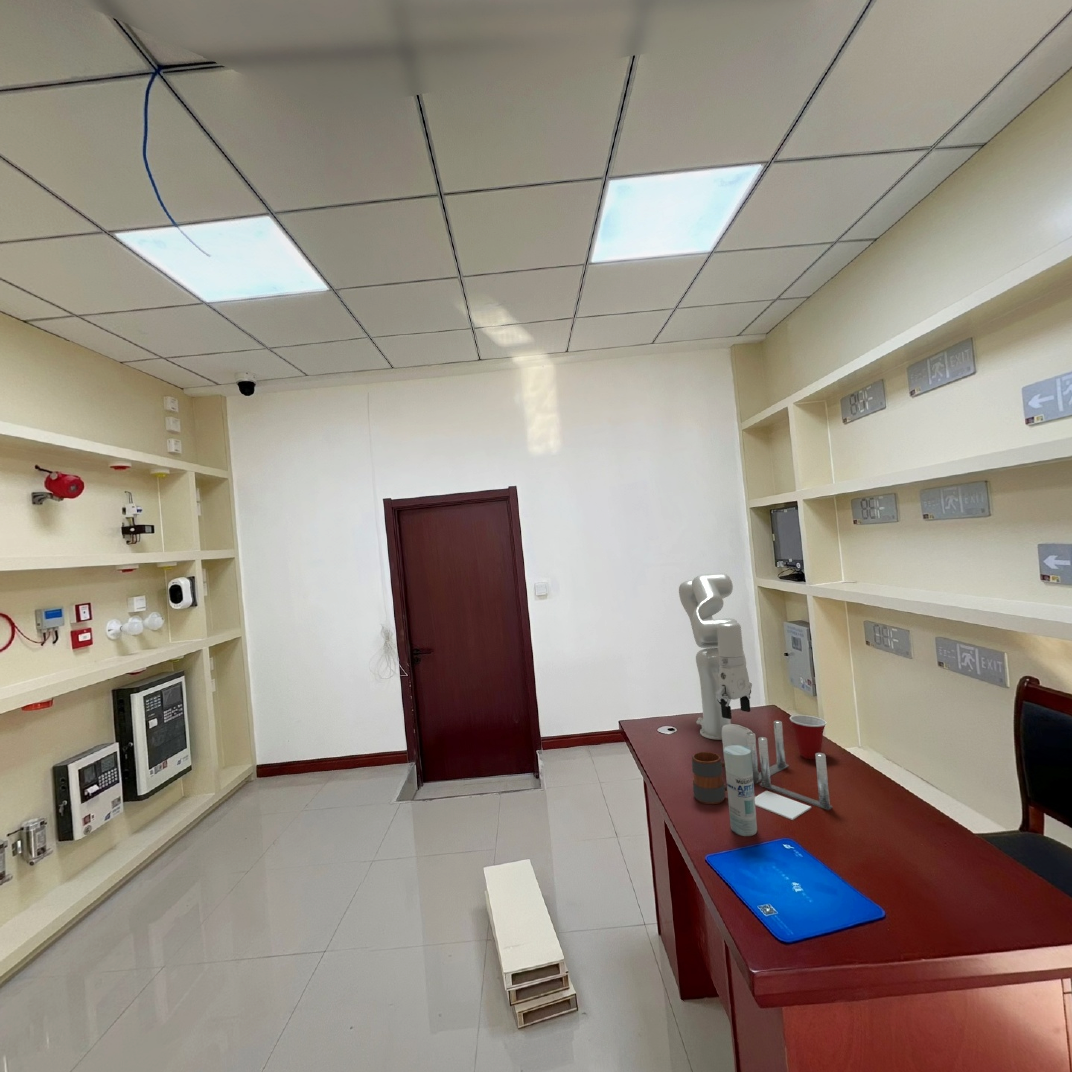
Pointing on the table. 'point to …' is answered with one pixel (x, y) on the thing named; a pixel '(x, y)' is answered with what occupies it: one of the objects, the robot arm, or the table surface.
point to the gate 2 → (766, 783)
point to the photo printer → (734, 735)
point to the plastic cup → (808, 734)
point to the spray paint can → (740, 790)
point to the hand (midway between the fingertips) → (736, 714)
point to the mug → (708, 778)
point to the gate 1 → (779, 752)
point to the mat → (780, 805)
